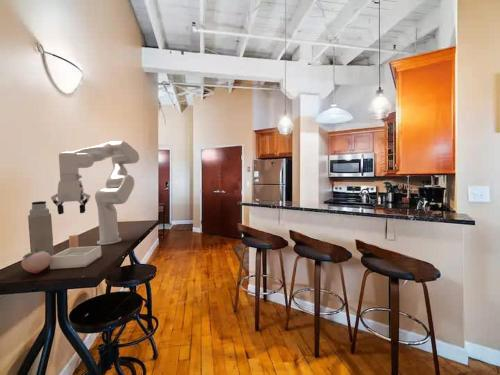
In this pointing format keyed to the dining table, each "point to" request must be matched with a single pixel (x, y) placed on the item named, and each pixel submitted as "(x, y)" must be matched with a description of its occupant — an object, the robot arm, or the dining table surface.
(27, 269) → the decorative fruit
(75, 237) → the peg
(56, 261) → the tub
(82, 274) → the dining table surface
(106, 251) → the dining table surface
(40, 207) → the thermos bottle
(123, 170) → the robot arm
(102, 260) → the dining table surface
